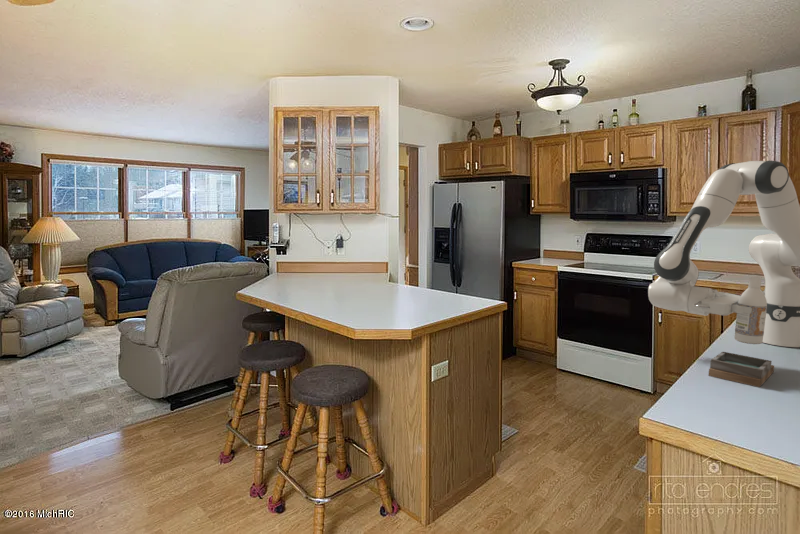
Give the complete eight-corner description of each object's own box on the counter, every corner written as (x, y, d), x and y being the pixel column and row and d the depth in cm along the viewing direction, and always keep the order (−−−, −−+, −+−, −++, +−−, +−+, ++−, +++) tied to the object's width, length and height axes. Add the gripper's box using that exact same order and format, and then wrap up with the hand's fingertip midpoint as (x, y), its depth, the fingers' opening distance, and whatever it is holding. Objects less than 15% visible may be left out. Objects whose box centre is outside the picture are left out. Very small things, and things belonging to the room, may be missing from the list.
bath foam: (756, 346, 140) (764, 278, 137) (730, 340, 146) (737, 275, 143) (766, 342, 144) (774, 276, 141) (740, 336, 149) (747, 273, 147)
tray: (725, 362, 150) (727, 348, 149) (773, 372, 141) (775, 357, 141) (708, 375, 138) (709, 360, 137) (759, 387, 129) (761, 371, 128)
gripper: (693, 295, 145) (747, 302, 135) (713, 288, 159) (764, 294, 149) (691, 315, 146) (745, 324, 136) (711, 306, 160) (762, 314, 150)
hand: (755, 308), depth 142 cm, fingers closed on bath foam, 7 cm apart
